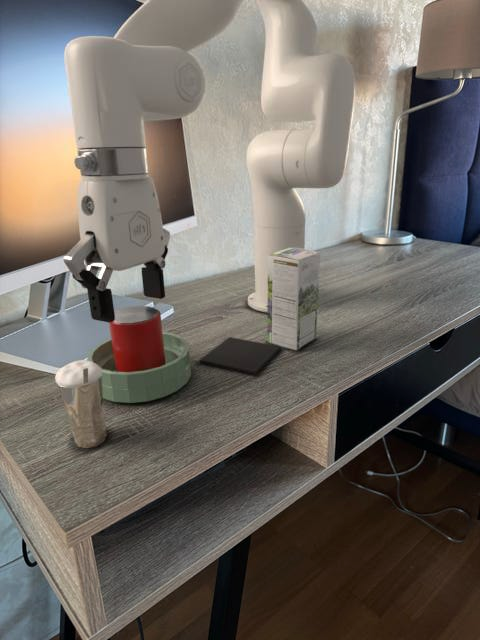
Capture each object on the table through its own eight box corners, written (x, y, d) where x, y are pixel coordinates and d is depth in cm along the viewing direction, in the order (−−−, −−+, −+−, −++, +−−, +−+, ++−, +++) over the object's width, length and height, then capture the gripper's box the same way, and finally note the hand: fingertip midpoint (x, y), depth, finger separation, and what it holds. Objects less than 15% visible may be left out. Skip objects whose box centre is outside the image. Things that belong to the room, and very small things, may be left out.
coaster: (229, 339, 72) (229, 337, 72) (280, 349, 68) (280, 346, 68) (200, 363, 65) (199, 360, 65) (255, 375, 61) (255, 372, 61)
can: (139, 362, 65) (131, 302, 61) (176, 370, 62) (170, 309, 59) (107, 382, 59) (96, 318, 56) (146, 393, 57) (137, 326, 53)
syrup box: (286, 331, 75) (287, 246, 69) (317, 339, 71) (320, 250, 66) (266, 342, 71) (265, 253, 65) (298, 352, 67) (299, 258, 62)
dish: (136, 352, 69) (133, 325, 68) (209, 368, 63) (207, 339, 62) (71, 392, 58) (65, 361, 57) (151, 416, 53) (146, 383, 51)
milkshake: (79, 462, 45) (61, 375, 42) (64, 437, 49) (46, 356, 46) (121, 445, 48) (108, 361, 44) (104, 422, 52) (90, 344, 48)
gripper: (80, 169, 42) (104, 336, 48) (184, 163, 56) (192, 293, 62) (26, 169, 45) (55, 326, 51) (138, 163, 59) (150, 286, 65)
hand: (130, 307), depth 57 cm, fingers open, 9 cm apart
